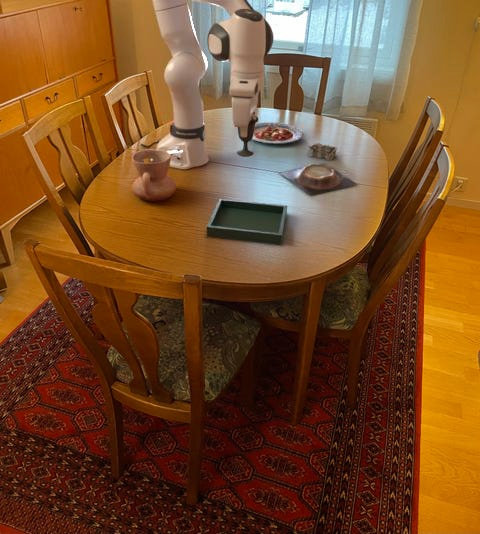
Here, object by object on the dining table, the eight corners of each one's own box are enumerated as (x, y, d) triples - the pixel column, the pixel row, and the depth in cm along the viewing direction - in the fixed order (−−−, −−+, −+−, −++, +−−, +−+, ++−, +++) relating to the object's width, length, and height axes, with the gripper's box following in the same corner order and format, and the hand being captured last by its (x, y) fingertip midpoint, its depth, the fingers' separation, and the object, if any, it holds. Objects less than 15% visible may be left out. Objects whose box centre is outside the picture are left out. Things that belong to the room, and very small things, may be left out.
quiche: (324, 164, 178) (326, 154, 176) (357, 185, 164) (359, 174, 162) (279, 173, 171) (280, 163, 168) (309, 196, 156) (310, 185, 154)
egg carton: (306, 155, 185) (307, 146, 183) (313, 149, 190) (314, 140, 188) (330, 161, 181) (332, 151, 178) (337, 155, 186) (339, 145, 184)
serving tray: (206, 236, 134) (206, 226, 132) (219, 207, 148) (219, 198, 146) (281, 245, 131) (281, 235, 129) (286, 214, 145) (287, 205, 143)
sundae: (240, 159, 127) (241, 105, 118) (230, 151, 132) (230, 98, 123) (261, 155, 130) (263, 102, 121) (250, 147, 134) (251, 95, 125)
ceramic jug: (142, 182, 161) (137, 144, 153) (182, 186, 160) (179, 147, 151) (124, 206, 147) (119, 165, 138) (168, 210, 145) (165, 169, 137)
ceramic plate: (264, 123, 215) (265, 116, 214) (312, 135, 204) (313, 129, 202) (232, 138, 198) (232, 131, 197) (282, 152, 187) (283, 145, 185)
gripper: (242, 70, 128) (241, 119, 136) (228, 90, 111) (228, 144, 120) (264, 72, 127) (262, 121, 135) (253, 92, 111) (251, 146, 119)
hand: (245, 132), depth 127 cm, fingers closed on sundae, 5 cm apart
